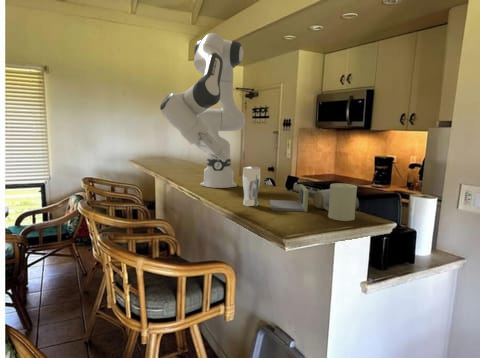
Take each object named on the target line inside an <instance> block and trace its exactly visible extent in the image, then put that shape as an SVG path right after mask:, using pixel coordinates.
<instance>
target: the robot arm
mask: <svg viewBox="0 0 480 358" xmlns="http://www.w3.org/2000/svg"><path fill="white" fill-rule="evenodd" d="M193 53H194V58H193V66H194V67H195V69H196V70H197V71H198V72H199V73H200V74H202V75H203V76H202V77H201V78H199V79H198V80H197V81H196V82H195V83H194V84H192V86H190V87H189V88H188V89H187V90H186V91H183V92H179V93H174V92H170V93H169V94H167V96H165V98H164V99H163V100H162V102H161V104H160V106H159V109H160V112H161V113H162V114H161V115H163V117H164V118H165V119H166V120H167V122H169V124H170V125H172V126H173V127H174V129H175V128H176V130H178V131H179V133H180V135H181V136H182V138H183V139H185V140H186V141H187V142H188V143H189V144H190V145H195V146H197V148H198V149H200V150H201V151H203V152H204V153H207V155H208V156H207V160H206V164H207V165H206V168H204V169H203V170H204V171H203V181H202V182H200V184H199V185H200V186H203V187H207V188H215V189H216V188H217V189H225V188H233V187H238V185H237V183H236V182H235V181H234V179H235V177H234V170H233V169H232V168H231V164H232V161H231V160H232V159H231V144H230V142H229V141H228V140H227V139H225V138H223V137H222V136H220V135H219V132H236V131H241V130H242V129H243V128H244V127H245V125H246V116H245V114H244V112H243V111H242V110H241V109H240V108H239V107H238V105H236V103H235V100H234V99H235V98H234V68H236V67H237V66H239V65H240V64H241V62H242V60H243V57H244V49H243V45H242V44H241V42H240V41H237V40H228V39H223V37H222V36H221V35H220V34H218V33H215V32H210V33H207V34H206V35H204V37H203V38H202V39H199V40H197V42H196V43H195V44H194V51H193ZM218 103H219V104H220V105H221V108H211V107H213V106H215V105H217V104H218Z"/></svg>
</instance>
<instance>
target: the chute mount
mask: <svg viewBox="0 0 480 358" xmlns="http://www.w3.org/2000/svg"><path fill="white" fill-rule="evenodd" d="M298 190H299V191H298V200H287V199H286V200H283V199H281V200H279V199H278V200H277V199H269V204H270V208H271V211H275V210H276V211H277V212H279V211H281V212H284V211H285V212H308V207H309V204H308V203H309V190H308V189H307V187H306V186H305V185H304V184H301V183H300V184H299V189H298Z"/></svg>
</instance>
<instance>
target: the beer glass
mask: <svg viewBox="0 0 480 358" xmlns="http://www.w3.org/2000/svg"><path fill="white" fill-rule="evenodd" d="M242 169H243V170H242V188H243V202H242V205H243V206H244V205H245V207H249V206H254V207H258V205H259V200H258V194H259V188H260V183H261V167H259V166H243V168H242Z"/></svg>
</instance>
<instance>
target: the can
mask: <svg viewBox="0 0 480 358" xmlns="http://www.w3.org/2000/svg"><path fill="white" fill-rule="evenodd" d="M329 189H330V200H329V211H328V213H327V214H328V215H327V217H328V218H329V219H331V220H334V221H340V222H341V221H342V222H351V221H354V220H355V219H356V216H355V215H356V204H357V203H356V201H357V192H358V186H357V185H355V184H350V183H340V182H339V183H337V182H336V183H331V184H330V185H329Z"/></svg>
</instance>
